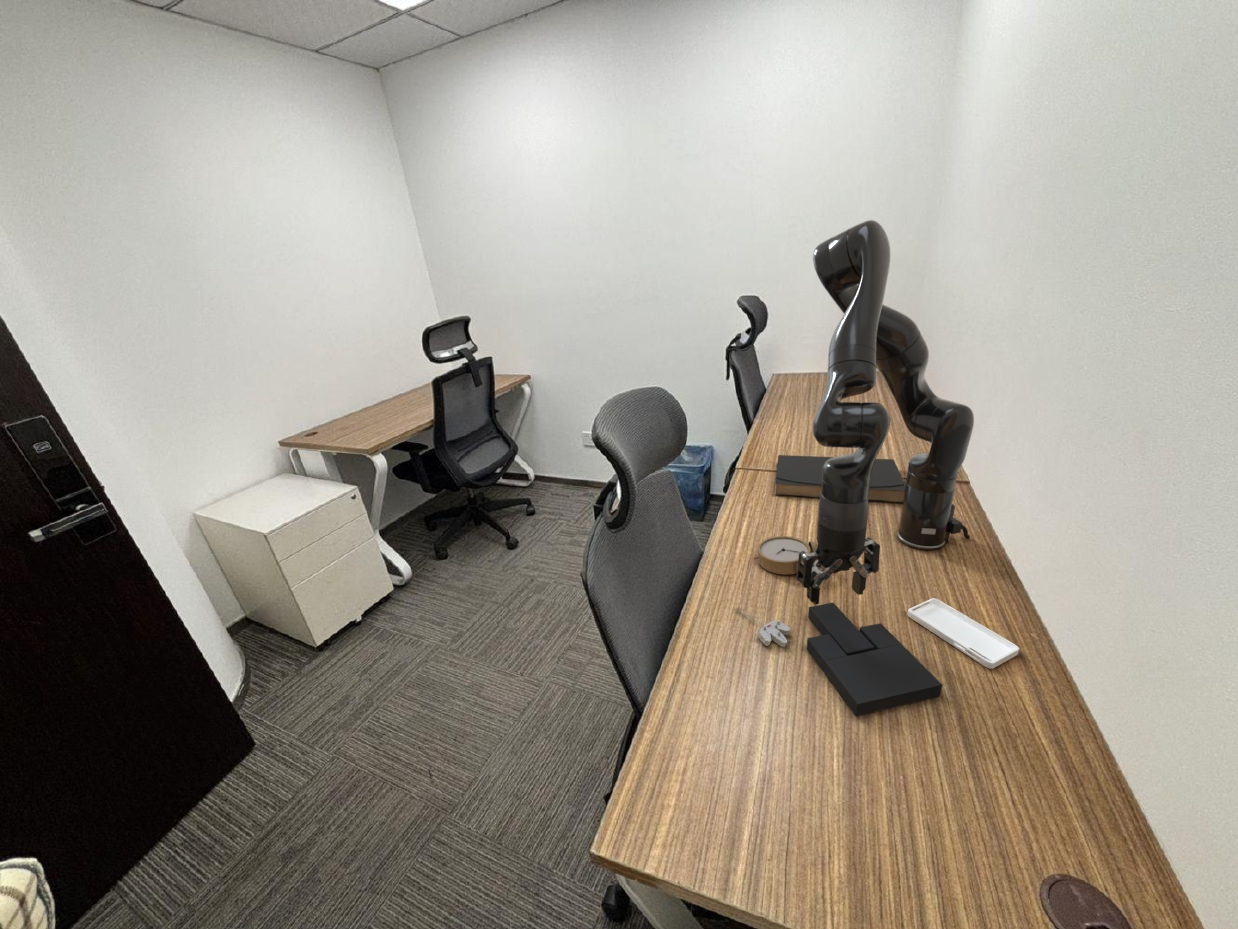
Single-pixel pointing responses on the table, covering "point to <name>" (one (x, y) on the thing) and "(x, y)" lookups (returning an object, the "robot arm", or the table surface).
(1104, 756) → the table surface
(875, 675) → the notched pad
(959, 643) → the phone case
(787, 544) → the alarm clock
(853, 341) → the robot arm
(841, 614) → the pad strip
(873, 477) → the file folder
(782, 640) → the game controller
